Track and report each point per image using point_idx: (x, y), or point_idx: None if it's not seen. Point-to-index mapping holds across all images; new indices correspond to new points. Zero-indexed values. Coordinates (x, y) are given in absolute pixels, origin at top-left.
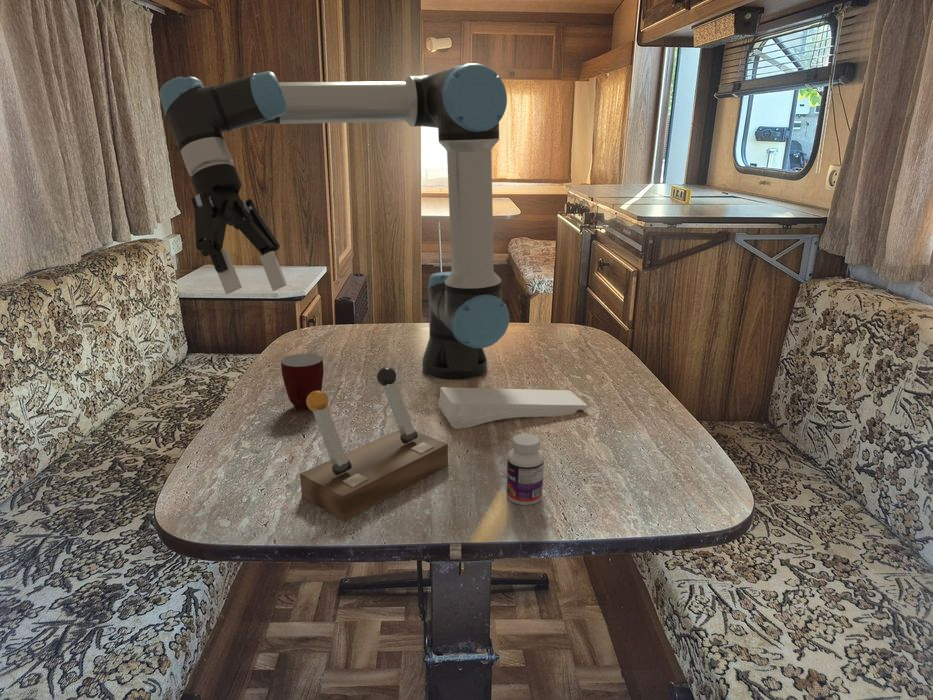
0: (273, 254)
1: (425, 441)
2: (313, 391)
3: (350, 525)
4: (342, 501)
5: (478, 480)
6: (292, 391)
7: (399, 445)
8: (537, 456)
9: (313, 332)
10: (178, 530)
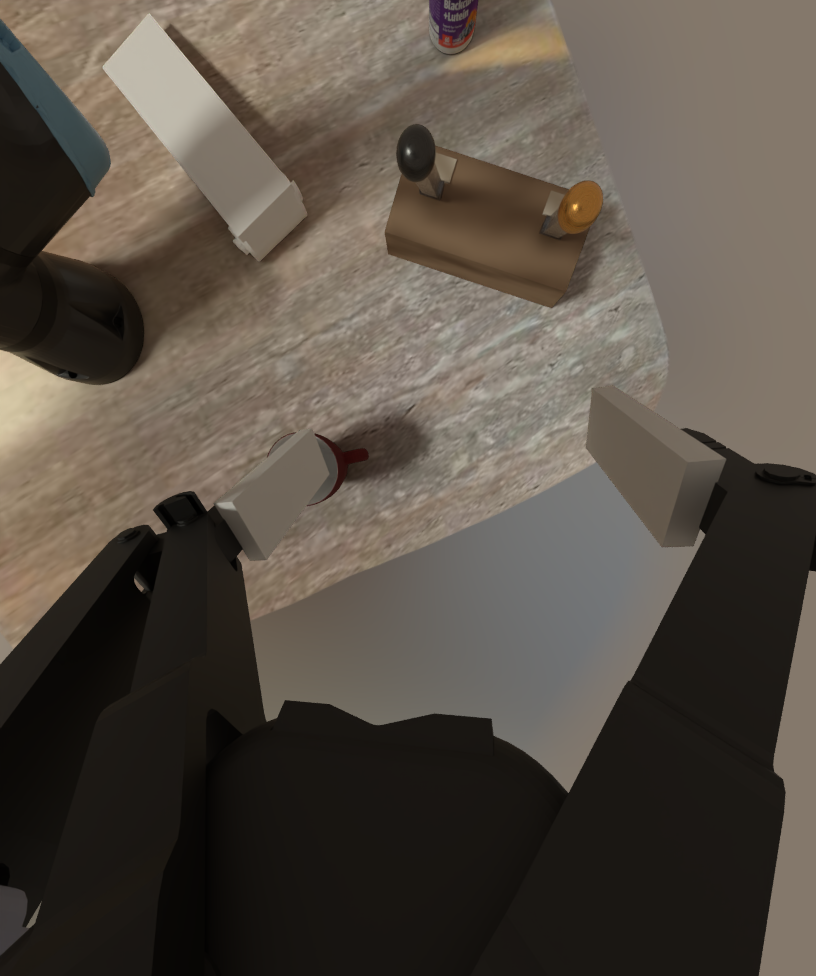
0: (239, 491)
1: None
2: (589, 201)
3: None
4: None
5: (434, 111)
6: (365, 451)
7: (443, 206)
8: None
9: None
10: (656, 391)
